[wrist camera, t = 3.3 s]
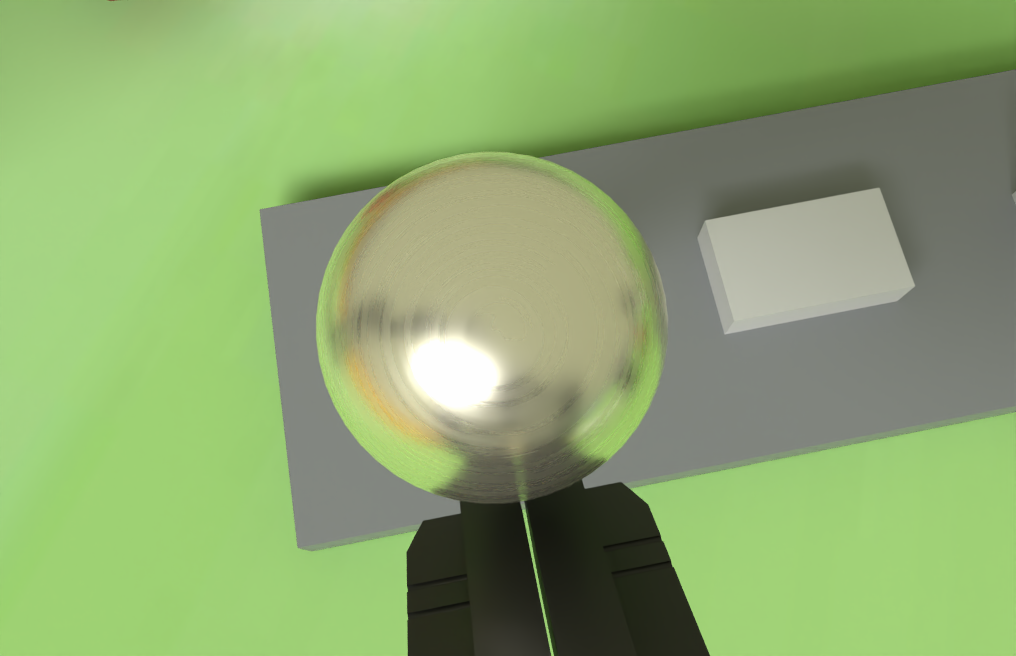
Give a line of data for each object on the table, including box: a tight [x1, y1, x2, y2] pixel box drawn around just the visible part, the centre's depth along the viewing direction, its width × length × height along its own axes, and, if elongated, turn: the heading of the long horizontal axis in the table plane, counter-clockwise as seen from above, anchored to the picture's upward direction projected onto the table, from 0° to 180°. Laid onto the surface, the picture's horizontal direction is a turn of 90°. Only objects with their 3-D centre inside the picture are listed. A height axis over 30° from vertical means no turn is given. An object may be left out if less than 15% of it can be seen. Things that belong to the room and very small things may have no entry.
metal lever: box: [316, 152, 668, 504], centre depth 16 cm, size 4×4×17 cm
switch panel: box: [260, 69, 1016, 551], centre depth 24 cm, size 10×30×4 cm, turn 101°
